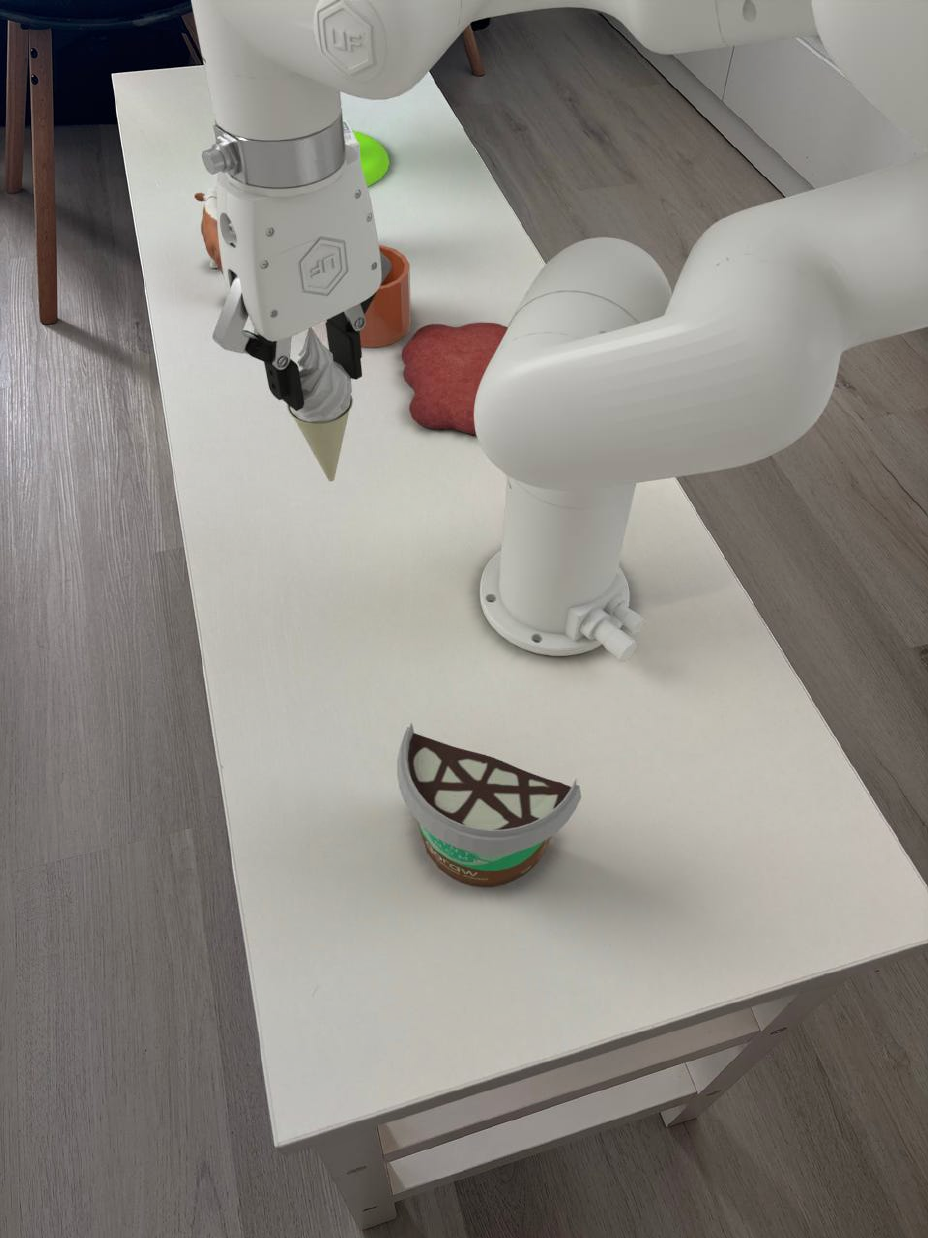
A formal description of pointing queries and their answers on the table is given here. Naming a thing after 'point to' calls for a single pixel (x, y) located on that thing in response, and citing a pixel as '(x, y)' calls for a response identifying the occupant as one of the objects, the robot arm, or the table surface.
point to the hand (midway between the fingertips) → (317, 383)
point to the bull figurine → (210, 226)
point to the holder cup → (389, 304)
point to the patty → (448, 372)
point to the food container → (480, 810)
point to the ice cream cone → (323, 403)
